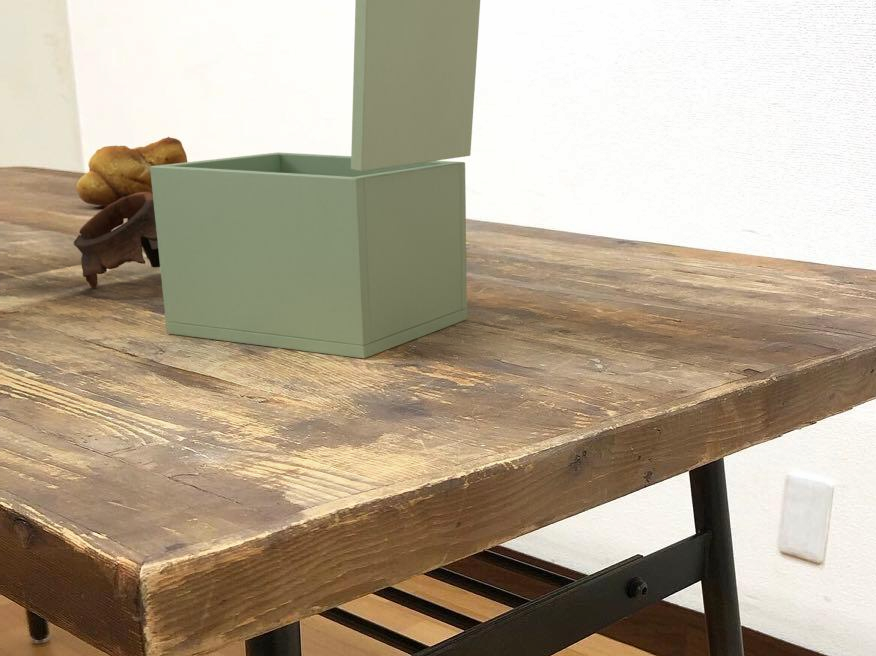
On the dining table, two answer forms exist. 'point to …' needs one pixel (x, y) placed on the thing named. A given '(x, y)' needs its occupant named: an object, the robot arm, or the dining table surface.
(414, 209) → the box
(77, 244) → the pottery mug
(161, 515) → the dining table surface
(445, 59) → the lid
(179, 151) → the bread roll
